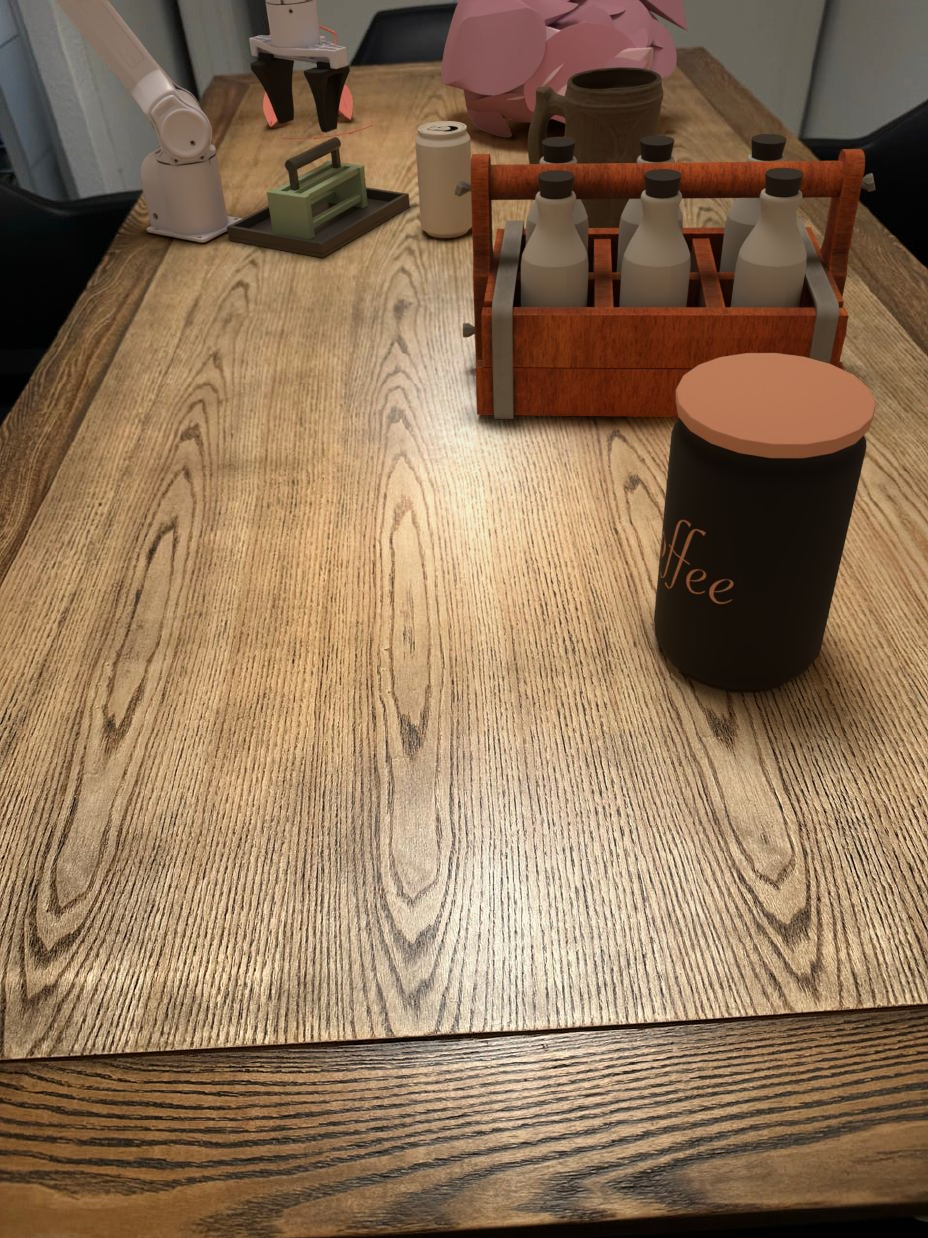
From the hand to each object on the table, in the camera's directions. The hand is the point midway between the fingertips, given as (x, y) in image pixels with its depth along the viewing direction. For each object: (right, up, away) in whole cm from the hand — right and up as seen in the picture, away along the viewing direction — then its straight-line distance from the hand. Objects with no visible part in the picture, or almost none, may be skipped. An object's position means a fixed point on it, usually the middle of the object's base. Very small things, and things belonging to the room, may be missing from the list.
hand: (307, 125), depth 132 cm
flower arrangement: (+34, +14, +31) cm, 49 cm away
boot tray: (+1, -11, +3) cm, 11 cm away
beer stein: (+33, -21, -11) cm, 41 cm away
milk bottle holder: (+37, -37, -31) cm, 61 cm away
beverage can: (+17, -13, -1) cm, 22 cm away
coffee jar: (+37, -62, -61) cm, 95 cm away
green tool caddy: (+1, -10, +3) cm, 11 cm away
